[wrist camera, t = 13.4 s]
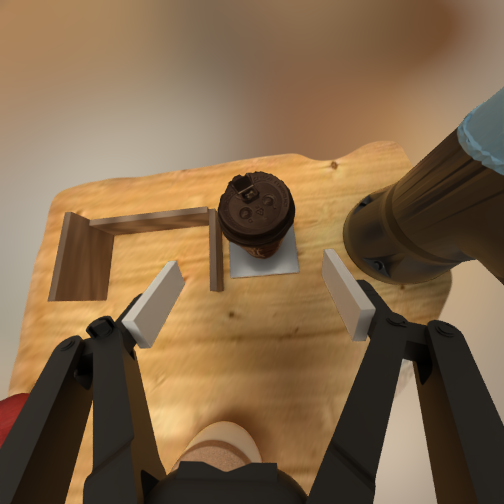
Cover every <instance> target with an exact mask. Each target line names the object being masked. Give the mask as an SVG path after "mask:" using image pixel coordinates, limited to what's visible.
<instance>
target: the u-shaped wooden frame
mask: <svg viewBox="0 0 504 504" xmlns="http://www.w3.org/2000/svg"><path fill="white" fill-rule="evenodd" d="M207 225H209V246H210V291H217V292H219V291H224V284H223V252H222V230H221V228H220V225H219V222H218V213H217V211H216V209H208V207H198V208H189V209H181V210H172V211H163V212H155V213H146V214H137V215H129V216H120V217H111V218H103V219H94V220H89V219H87V218H84V217H82V216H80V215H77V214H75V213H73V212H66V213H65V216H64V221H63V226H62V231H61V236H60V241H59V246H58V251H57V257H56V262H55V267H54V272H53V277H52V282H51V287H50V292H49V298H48V301H99V300H106V299H107V291H108V282H109V274H110V266H111V257H112V249H113V241H114V235H122V234H132V233H141V232H150V231H160V230H169V229H179V228H188V227H197V226H207Z"/></svg>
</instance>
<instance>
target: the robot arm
mask: <svg viewBox="0 0 504 504" xmlns="http://www.w3.org/2000/svg"><path fill="white" fill-rule="evenodd" d="M343 238H344V243H345V247H346V250H347V252H348V254H349V256H350V257H351V259H352V260H353V262H354V263H355V264H356V265H357V266H358V267H359V268H360V269H361V270H362V271H363V272H365V273H366V274H368V275H369V276H371V277H373V278H375V279H377V280H380V281H382V282H386V283H390V284H399V285H404V284H415V283H422V282H426V281H429V280H432V279H434V278H436V277H438V276H440V275H442V274H443V273H445V272H447V271H448V270H450V269H452V268H453V267H455V266H456V265H458V264H460V263H461V262H465V261H470V260H476V259H477V260H478V261H480V262H481V263H482V264H483V265H484V266H485V267H486V268H487V269H488V270H489V271H490V272H491V273H492V274H493V275H494V276H495V277H496V278H497V279H498V280H499V281H500V282H501V283H502V284H503V285H504V87H503V88H502V89H500V90H499V91H498V92H497V93H496V94H495V95H493V96H492V97H491V98H490V99H488V100H487V101H486V102H484V103H482V104H481V105H479V106H477V107H476V108H475V109H473V110H472V111H471V112H470V113H469V114H468V115H467V116H466V117H465V118H464V120H463V122H461V124H460V125H459V126H458V127H457V128H456V129H455V130H454V131H453V132H452V133H451V134H450V135H449V136H447V137H446V138H445V139H444V140H443V141H442V142H441V143H440V144H439V145H438V146H437V147H436V148H435V149H433V150H432V151H431V152H430V153H429V154H428V155H427V156H426V157H425V158H424V159H422V161H420V162H419V163H418V164H417V165H416V166H415V167H414V168H413V169H412V170H411V171H409V172H408V173H407V174H406V175H405V176H404V177H403V178H402V179H401V180H400V181H398V182H397V183H395V184H393V185H390V186H388V187H386V188H383V189H381V190H378V191H376V192H374V193H371V194H370V195H368V196H366V197H365V198H364V199H362V200H361V201H360V202H359V203H358V204H357V205H356V206H355V207H354V208H353V209H352V211H351V212H350V213H349V215H348V216H347V219H346V221H345V224H344V230H343ZM322 277H323V279H324V282H325V284H326V286H327V288H328V290H329V292H330V294H331V296H332V299H333V301H334V303H335V305H336V307H337V309H338V311H339V313H340V316H341V318H342V320H343V322H344V324H345V326H346V328H347V330H348V332H349V335H350V337H351V339H352V341H366V338H367V335H368V336H369V338H370V342H369V345H368V347H367V350H366V353H365V355H364V358H363V360H362V363H361V365H360V368H359V370H358V373H357V376H356V378H355V381H354V383H353V386H352V388H351V391H350V393H349V396H348V398H347V401H346V404H345V406H344V409H343V411H342V414H341V416H340V419H339V421H338V424H337V427H336V429H335V432H334V434H333V437H332V439H331V441H330V443H329V446H328V448H327V451H326V453H325V455H324V458H323V461H322V463H321V466H320V468H319V471H318V473H317V476H316V478H315V481H314V483H313V486H312V488H311V491H310V494H309V496H307V494H306V493H305V492H304V490H303V489H302V487H301V486H300V485H299V484H298V483H297V482H296V481H295V480H294V479H293V478H292V477H291V476H289V475H288V474H286V473H285V472H283V471H281V470H279V469H277V463H254V462H252V463H249V464H247V465H244V466H241V467H239V468H236V469H233V470H231V471H228V472H225V471H222V470H220V469H218V468H216V467H214V466H212V465H210V464H207V463H205V462H203V461H180V463H179V467H178V469H176V470H174V471H172V472H170V473H169V474H168V475H166V472H165V469H164V467H163V465H162V463H161V460H160V458H159V454H158V450H157V445H156V441H155V436H154V432H153V427H152V423H151V418H150V414H149V410H148V405H147V401H146V396H145V392H144V387H143V383H142V379H141V374H140V370H139V365H138V361H137V356H136V352H135V350H134V349H133V348H134V346H135V345H136V343H137V344H138V346H139V347H140V348H151V347H152V345H153V343H154V341H155V339H156V338H157V336H158V334H159V332H160V330H161V328H162V326H163V324H164V323H165V321H166V319H167V317H168V315H169V313H170V311H171V309H172V308H173V306H174V304H175V302H176V300H177V298H178V296H179V295H180V293H181V291H182V289H183V287H184V285H185V282H184V280H183V277H182V274H181V272H180V269H179V266H178V264H177V261H168V262H167V264H166V265H165V266H164V267H163V269H162V270H161V271H160V273H159V274H158V275H157V276H156V278H155V279H154V280H153V281H152V283H151V284H150V285H149V287H148V288H147V289H146V290H145V292H144V293H143V294H139V295H138V296H137V297H135V298H134V299H133V301H132V302H131V303H130V305H128V307H127V308H126V309H125V310H124V312H123V313H122V314H121V315H120V316H119V318H118V319H117V320H116V321H115V322H114V321H113V319H112V318H111V316H103V317H100V318H98V319H96V320H94V321H93V322H92V323H91V324H89V326H88V327H87V329H86V332H87V333H88V334H89V335H90V337H91V338H88V339H84V340H83V339H82V338H81V337H80V336H77V335H76V336H72V337H69V338H67V339H65V340H64V341H62V342H61V343H60V344H59V345H58V346H57V347H56V348H55V349H54V351H53V352H52V354H51V356H50V358H49V360H48V362H47V363H46V365H45V367H44V369H43V371H42V373H41V374H40V376H39V378H38V380H37V382H36V384H35V386H34V387H33V389H32V391H31V393H30V395H29V397H28V398H27V400H26V402H25V404H24V406H23V408H22V409H21V411H20V413H19V415H18V417H17V419H16V420H15V422H14V424H13V426H12V428H11V430H10V431H9V433H8V435H7V437H6V439H5V441H4V442H3V444H2V446H1V448H0V504H65V501H66V497H67V493H68V489H69V486H70V482H71V478H72V475H73V471H74V467H75V464H76V460H77V456H78V453H79V449H80V445H81V442H82V438H83V434H84V431H85V427H86V423H87V419H88V416H89V412H90V408H91V405H92V401H93V470H92V472H91V474H90V475H89V476H88V477H87V478H86V480H85V483H84V489H83V504H373V501H374V495H375V487H376V486H375V478H376V473H377V469H378V464H379V459H380V455H381V451H382V447H383V442H384V438H385V433H386V429H387V424H388V420H389V416H390V412H391V407H392V403H393V398H394V394H395V390H396V385H397V381H398V376H399V372H400V368H401V363H402V359H406V360H410V361H412V362H413V367H414V373H415V378H416V384H417V390H418V396H419V401H420V407H421V413H422V419H423V424H424V430H425V436H426V441H427V447H428V453H429V458H430V464H431V470H432V475H433V481H434V487H435V493H436V498H437V503H438V504H504V426H503V423H502V421H501V419H500V416H499V414H498V412H497V410H496V407H495V405H494V403H493V401H492V398H491V396H490V394H489V392H488V389H487V387H486V385H485V383H484V381H483V378H482V376H481V374H480V371H479V369H478V367H477V365H476V363H475V360H474V359H473V356H472V354H471V351H470V349H469V347H468V345H467V342H466V340H465V338H464V336H463V334H462V333H461V331H459V330H458V329H457V328H455V327H454V326H453V325H451V324H449V323H446V322H443V321H439V320H432V321H430V322H428V324H427V325H421V324H416V323H411V322H408V321H407V320H406V319H405V318H404V317H403V316H401V315H399V314H397V313H394V312H392V311H391V309H390V308H389V307H388V306H387V304H386V303H385V302H384V301H383V299H382V298H381V297H380V296H379V295H378V293H377V292H376V291H375V289H374V288H373V287H372V285H371V284H369V283H368V282H366V281H365V280H355V279H354V277H353V276H352V275H351V273H350V272H349V270H348V269H347V267H346V266H345V265H344V263H343V262H342V260H341V259H340V257H339V256H338V255H337V253H336V252H335V250H334V249H324V254H323V265H322Z"/></svg>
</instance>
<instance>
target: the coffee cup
mask: <svg viewBox="0 0 504 504" xmlns="http://www.w3.org/2000/svg"><path fill="white" fill-rule="evenodd" d="M228 184H229V185H228V186H227V189H226V191H225V193H224V194H222V195H221V198H220V203H219V207H218V222H219V225H220V228H221V230H222V232H223V234H224V236H225V237H226V238H227V239H228V240H229V241H230V242H232V243H234V244H236V245H238V246H240V247H241V248H243V249H244V250H246V252H247V253H249V254H250V255H251V256H253V257H255V258H258V259H266V258H269V257H271V256H272V255H274V254H275V253H276V251H277V250H278V249H279V247H280V245H281V243H282V241H283V239H284V237H285V235H286V233H287V232H288V230H289V229H290V227H291V226H292V224H293V223H294V217H295V204H294V201H293V198H292V195H291V193H290V190H289V188H288V187H287V186H286V185H285V184H284V182H283V181H282V180H279V179H278V178H277V177H276V176H273V175H272V174H268V173H264V172H261V171H260V172H256V171H255V172H254V173H246V174H245V176H241V175H240V174H239V175H237V176H235V177H234V178H233V179H232V181H230V182H229V183H228Z"/></svg>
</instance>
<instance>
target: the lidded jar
mask: <svg viewBox="0 0 504 504" xmlns="http://www.w3.org/2000/svg"><path fill="white" fill-rule="evenodd" d="M180 461H203V462H205V463H207V464H210V465H212V466H214V467H216V468H218V469H220V470H222V471H225V472H228V471H231V470H233V469H236V468H239V467H241V466H244V465H247V464H249V463H252V462H254V463H262V460H261V456H260V453H259V450H258V448H257V446H256V444H255V442H254V440H253V438H252V437H251V436H250V434H249V433H248V432H247V431H246V430H245V429H244V428H242V427H241V426H239V425H238V424H235V423H233V422H228V421H220V422H216V423H213V424H211V425H209V426H207V427H205V428H204V429H203V430H201V431H200V432H199V433H198V434H197V435H196V436H195V437H194V438H193V439H192V441H191V442H190V443H189V444H188V446H187V447H186V449H185V450H184V452H183V453H182V455H181V456H180V458H179V459H178V460H177V462H176V463H175V465H174V466H173V468H172V470H171V472H172V471H174V470H176V469H178V467H179V463H180Z"/></svg>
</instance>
